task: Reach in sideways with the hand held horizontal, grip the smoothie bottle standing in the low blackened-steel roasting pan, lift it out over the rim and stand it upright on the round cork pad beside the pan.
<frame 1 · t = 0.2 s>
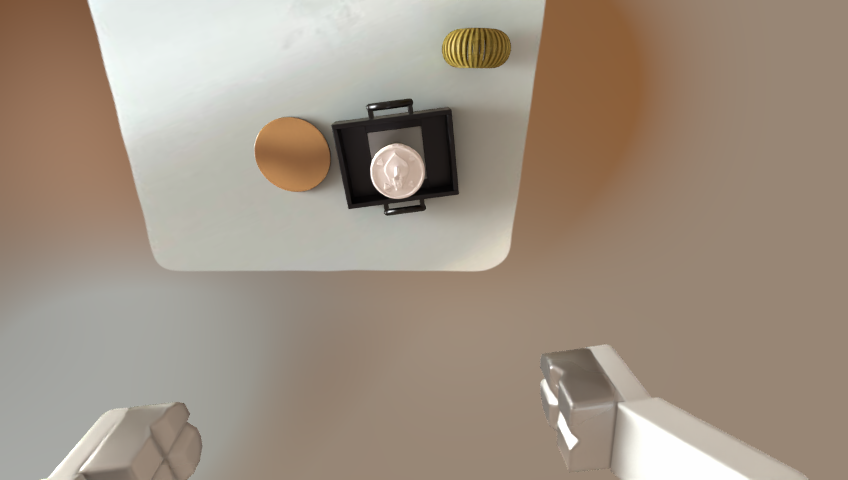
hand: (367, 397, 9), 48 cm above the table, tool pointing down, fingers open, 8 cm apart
pan: (397, 156, 55), on the table
sculpture: (470, 50, 50), on the table
smoothie: (397, 156, 55), resting in pan
cork pad: (293, 155, 54), on the table
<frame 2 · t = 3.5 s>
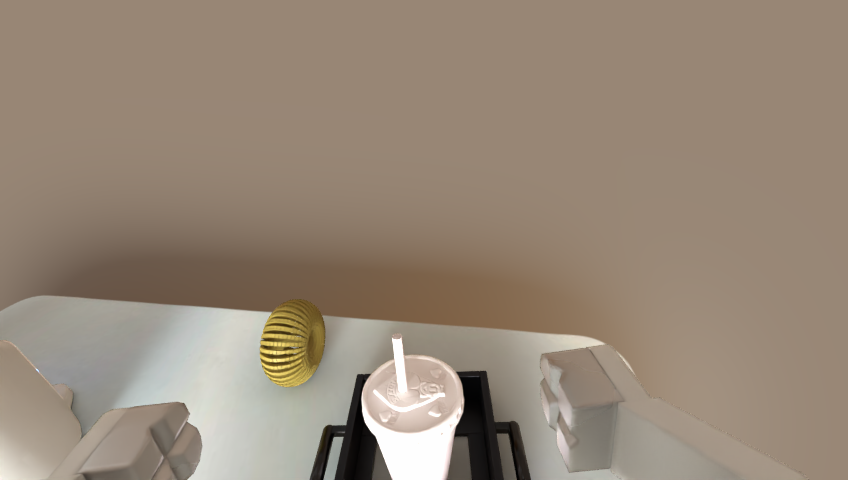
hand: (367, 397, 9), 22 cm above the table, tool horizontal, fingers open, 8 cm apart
sculpture: (303, 374, 39), on the table
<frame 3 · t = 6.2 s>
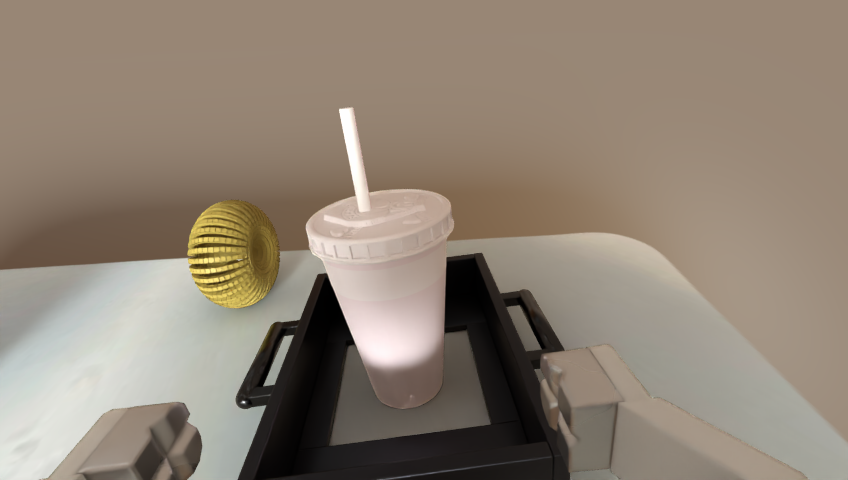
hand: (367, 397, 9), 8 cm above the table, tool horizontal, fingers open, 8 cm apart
pan: (408, 381, 21), on the table
sculpture: (254, 301, 31), on the table
smoothie: (409, 383, 21), resting in pan
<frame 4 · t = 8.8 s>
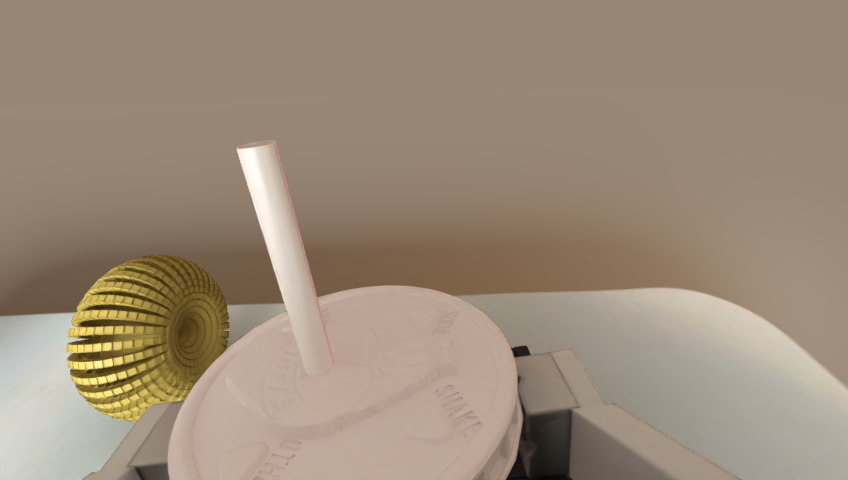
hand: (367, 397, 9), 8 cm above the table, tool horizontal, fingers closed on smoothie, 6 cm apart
sculpture: (190, 396, 22), on the table
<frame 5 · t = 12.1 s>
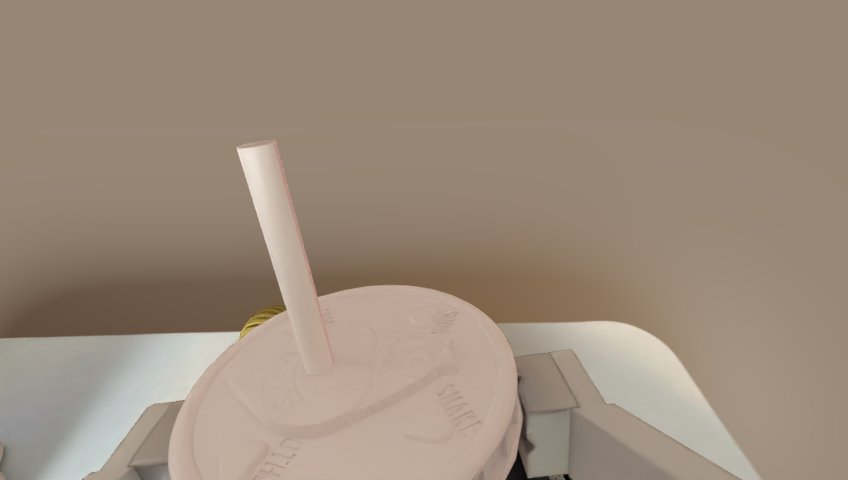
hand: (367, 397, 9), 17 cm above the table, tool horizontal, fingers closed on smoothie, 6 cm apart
sculpture: (290, 395, 33), on the table
when the fingers open (9 cm above the table, at t = 15.8 s): smoothie stays where it is, resting on cork pad.
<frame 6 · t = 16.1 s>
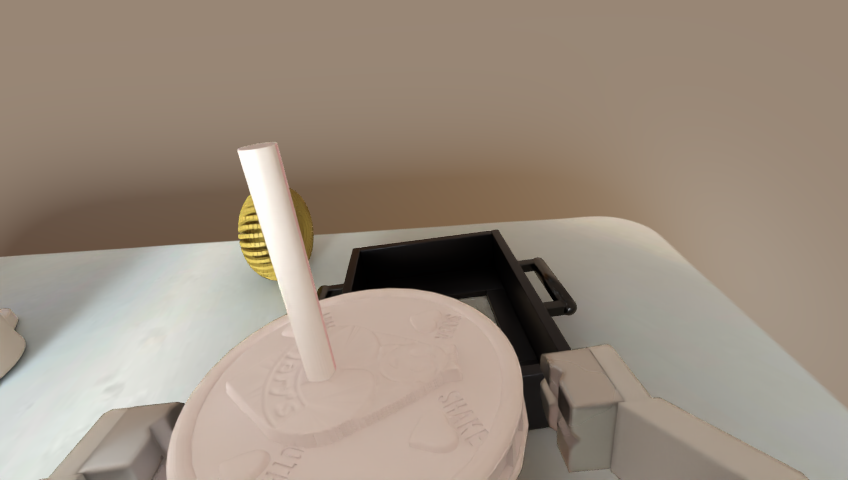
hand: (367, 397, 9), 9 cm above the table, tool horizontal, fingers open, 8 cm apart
pan: (438, 334, 24), on the table
sculpture: (291, 276, 35), on the table
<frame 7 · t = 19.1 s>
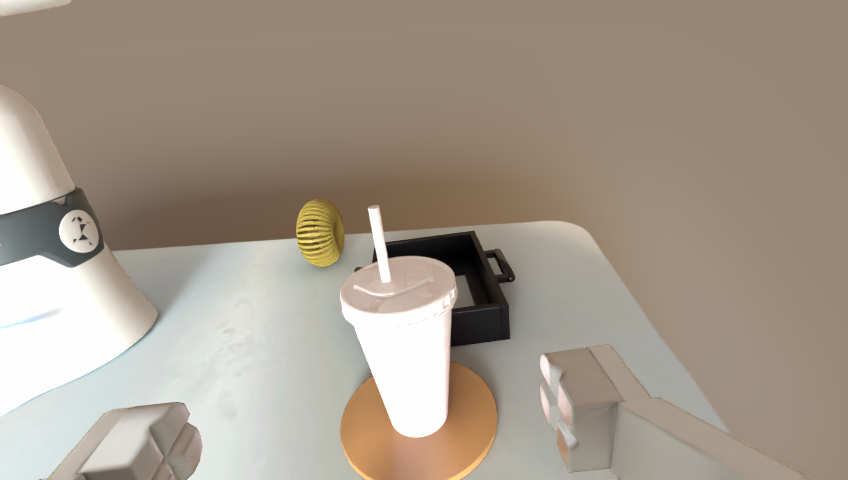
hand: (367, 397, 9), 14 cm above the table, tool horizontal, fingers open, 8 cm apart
pan: (432, 297, 38), on the table
sculpture: (329, 264, 48), on the table
smoothie: (419, 414, 25), resting on cork pad
cork pad: (419, 416, 26), on the table
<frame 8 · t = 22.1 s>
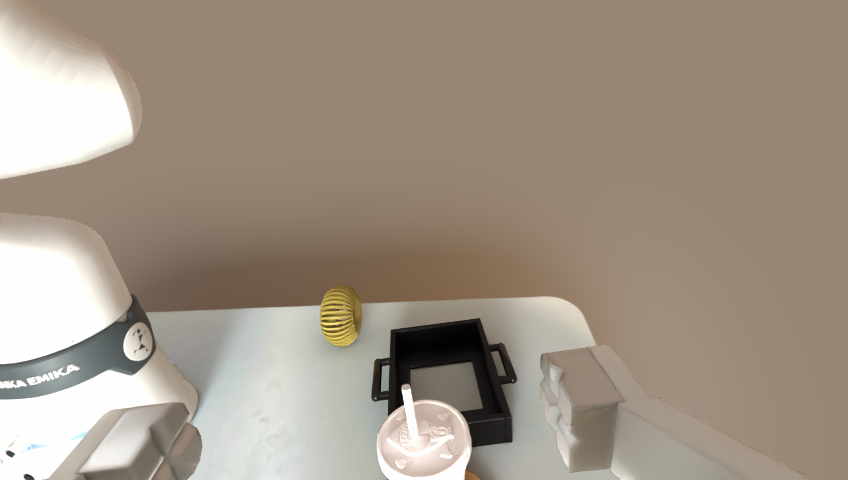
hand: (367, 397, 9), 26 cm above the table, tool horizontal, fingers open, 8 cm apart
pan: (444, 388, 43), on the table
sculpture: (348, 340, 54), on the table
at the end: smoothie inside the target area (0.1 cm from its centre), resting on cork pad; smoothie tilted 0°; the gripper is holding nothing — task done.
